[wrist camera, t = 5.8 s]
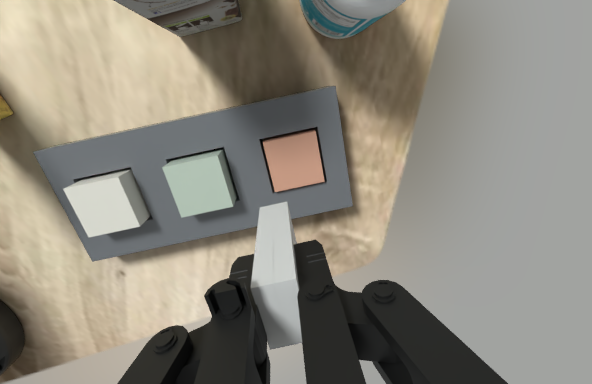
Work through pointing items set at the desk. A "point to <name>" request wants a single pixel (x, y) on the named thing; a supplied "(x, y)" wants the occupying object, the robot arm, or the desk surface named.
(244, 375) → the robot arm
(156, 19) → the coffee box
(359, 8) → the pill bottle
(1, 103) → the candy box
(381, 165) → the desk surface
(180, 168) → the sage key
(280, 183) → the terracotta key
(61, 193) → the keypad
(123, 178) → the cream key
